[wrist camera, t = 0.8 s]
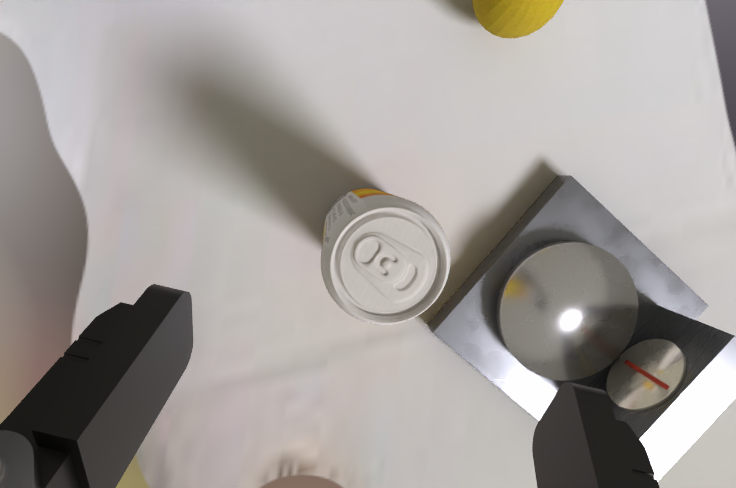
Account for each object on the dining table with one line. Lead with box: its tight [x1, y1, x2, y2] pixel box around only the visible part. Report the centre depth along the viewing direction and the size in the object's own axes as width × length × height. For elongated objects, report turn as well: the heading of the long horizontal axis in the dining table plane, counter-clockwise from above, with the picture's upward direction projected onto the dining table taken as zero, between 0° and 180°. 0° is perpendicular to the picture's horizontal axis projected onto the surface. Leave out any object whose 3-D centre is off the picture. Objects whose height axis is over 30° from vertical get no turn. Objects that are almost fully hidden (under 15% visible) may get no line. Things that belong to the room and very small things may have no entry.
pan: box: [497, 241, 639, 381], centre depth 35 cm, size 10×10×1 cm
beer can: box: [321, 188, 450, 325], centre depth 29 cm, size 6×6×15 cm
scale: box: [428, 176, 736, 482], centre depth 34 cm, size 15×15×9 cm
